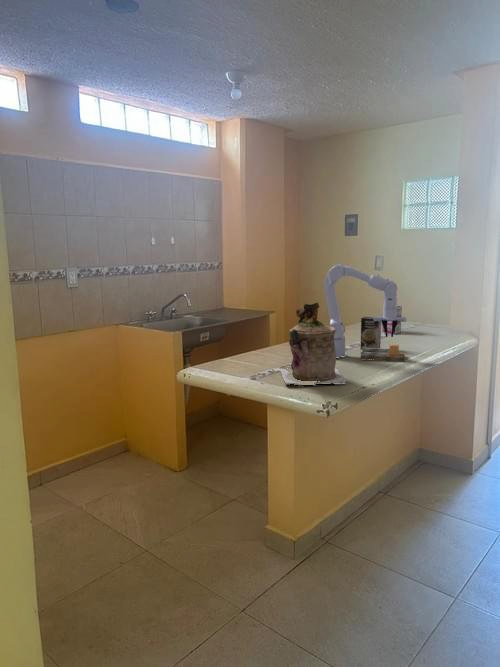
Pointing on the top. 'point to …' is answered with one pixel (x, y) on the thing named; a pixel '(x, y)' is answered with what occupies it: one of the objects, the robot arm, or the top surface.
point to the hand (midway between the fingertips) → (389, 336)
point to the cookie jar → (312, 350)
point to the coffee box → (370, 333)
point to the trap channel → (381, 355)
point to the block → (394, 349)
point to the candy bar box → (389, 323)
